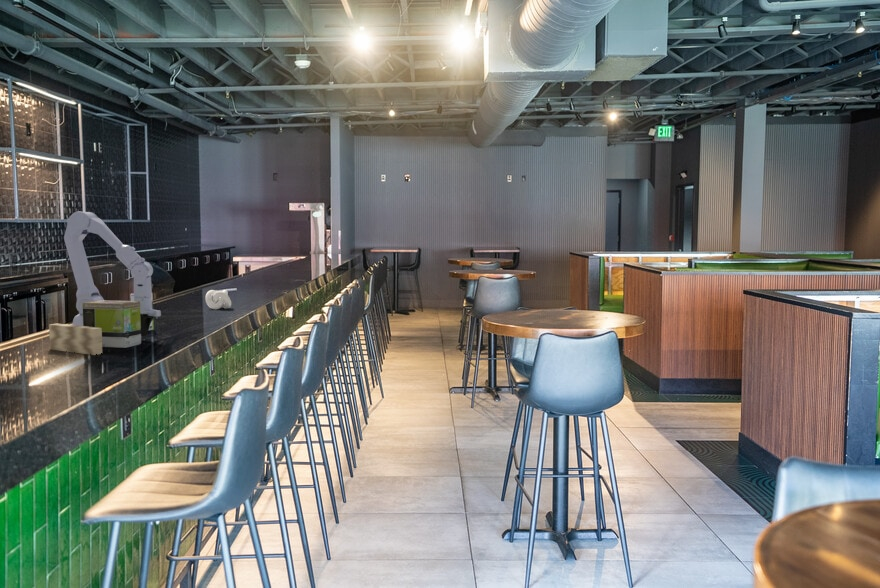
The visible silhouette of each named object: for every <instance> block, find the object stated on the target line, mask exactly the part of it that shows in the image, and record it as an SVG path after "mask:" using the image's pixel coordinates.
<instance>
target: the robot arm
mask: <svg viewBox="0 0 880 588" xmlns="http://www.w3.org/2000/svg"><path fill="white" fill-rule="evenodd" d="M90 233H92V234H96V235H98V236H99V237H100V238H101V239H102V240H104V242H106V243H107V244H108V246H110V247H111V248H112V249H113V250H114V251H115V257H116V258H117V259H118V260H119V261H120V262H121V263H122V264H123V265H124V266H125V267H126V268H127V269H128V270H130V275H131V277H132V278H133V293H134V301H140V318H141V337H147V336H148V334H149V331H150V330H149V326H150V324H151V322H152V320H154V319H155V318H156V317H158V318H159V317H161V316H162V311H161V310H157V309H154V308H153V309H152V294H153V291H152V275H153V273H154V268H153V266H152V264H151V262H148V261H146V258H144V257H141V256H140V255H139V254H138V252H137V251H136V248H135V247H134V246H131V245H130V244H123V242H122V241H121V240H120V239H119V238H118V237H117V235H115V234H114V232H113V231H112V230H111V229H110V228H109V226H107V224H106V223H105V222H104V220H102V219H101V218H100V217H98V216H97V214H95V213H94V212H93V211H92V212H91V211H79V210H78V211H75V212H72V214H71V215H70V216H69V217H68V218H67V219H66V228H65V232H64V236H63V240H64V243H65V247H66V251H67V255H68V257H69V261H70V265H71V269H72V272H73V276H74V279H75V284H76V286H77V290H76V294H75V296H76V303H75V308H76V310H77V311H78V314H77V315H75V316H74V318H73V320H72V325H77V326H83V303H85V302H92V301H100V300H105V299H104V297H103V296H102V295H101V294H100V291H99V289H98V287H97V286H96V285H95V284H94V279H93V275H92V272H91V269H90V264H89V261H88V257H87V254H86V251H85V247H84V243H83V240H84V239H85V237H87V235H88V234H90ZM144 313H146V314H144ZM148 330H149V331H148Z"/></svg>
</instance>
